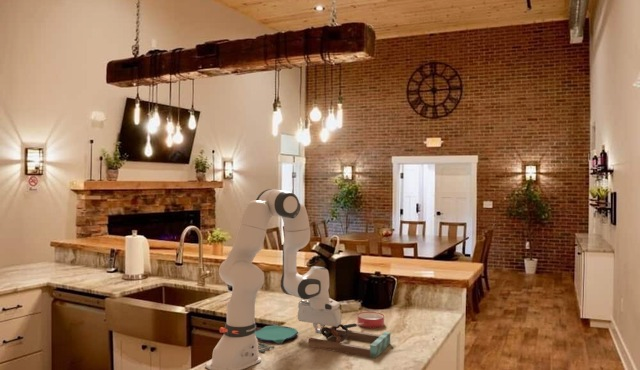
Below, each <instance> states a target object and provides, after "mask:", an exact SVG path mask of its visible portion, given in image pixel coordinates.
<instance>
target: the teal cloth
mask: <svg viewBox="0 0 640 370" xmlns="http://www.w3.org/2000/svg"><path fill="white" fill-rule="evenodd" d="M298 334H299V332H298V330H297V329H296V328H294V327H291V326H284V325H283V326H282V325H278V324H277V325H276V324H275V325H273V324H272V325H266V326H263V327H261V328H259V329H256V331H255V335H256V338H257V340H258V341H259V340H260V341H262V342H258V352H259V353H263V354H265V353H266V350H271V348H273V349H274V348H275V346H274V345H269V344H265V343H263V342H269V343H271V342H272V343H273V342H274V343H276V344H278V345H279V344H280V343H281V344H282V343H283V342H284V341H288V340H290V339H293V338H295V337H296V336H297V335H298ZM259 348H260V349H259ZM261 348H262V349H261Z"/></svg>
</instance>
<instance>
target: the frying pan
mask: <svg viewBox="0 0 640 370" xmlns="http://www.w3.org/2000/svg"><path fill="white" fill-rule="evenodd" d="M343 325H344V326H345V327H346V328H347V329H351V328H355V327H362V328H366V329H379V328H382V327H384V325H385V316H384V314H382V313H380V312H376V311H363V312H359V313H358V314H357V322H356V323H350V324H349V323H348V324H343Z"/></svg>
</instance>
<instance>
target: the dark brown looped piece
mask: <svg viewBox="0 0 640 370" xmlns="http://www.w3.org/2000/svg"><path fill="white" fill-rule="evenodd" d="M344 325H345V324H342V323H341V324H340V325H339V326H337V327H335V326H324V328H322V330H321V333H322V334H321V335H322V336H323V337H324V338H326V339H325V340H329V338H331V337H335V338H336V340H335V342H338V343H343V342H344V341H346V340H348V338H347V337H348V330H349V328H346V327H345V326H344ZM328 327H330V328H328ZM337 328H339V329H340V328H341V329H344V330H346V334H343V335H342V334H341V336H338V334H339V333H338V332H336V331H335V330H336V329H337ZM325 331H326V332H327V333H325Z"/></svg>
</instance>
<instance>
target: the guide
mask: <svg viewBox="0 0 640 370" xmlns="http://www.w3.org/2000/svg"><path fill="white" fill-rule="evenodd" d="M327 327H328V328H330V327H331V326H327ZM335 331H336V332H338V333H339V334H338V336H341V334H342V335H343V334H346V330H344V329H342V328H340V327H339V328H337V329H336V330H335ZM324 332H325V333H327V332H326V331H324ZM347 339H352V340H358V341H364V342H367V343H368V342H370V345H369V347H368V346H367V347H366V346H360V345H355V344H350V343H343V342H340V343H338V342H336V341H332V340H328V339H321V338H320V339H319V338H315V337H309V338H308V344H307V345H308V347H311V346H312V347H313V348H317V347H318V349H322V348H323V349H324V350H328V351H333V350H334V351H335V352H339V353H345V354H349V355H357V356H361V357H366V358H373V359H377V358H378V357H379V356H380V355H381V353H383V351H385V350H386V349H387V347H389V345H390V344H391V332H390V331H384V332H383V333H382V334H381V335H380V334H375V333H369V332H363V331H357V330H350V329H348V337H347ZM323 349H322V350H323ZM334 351H333V352H334Z"/></svg>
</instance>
